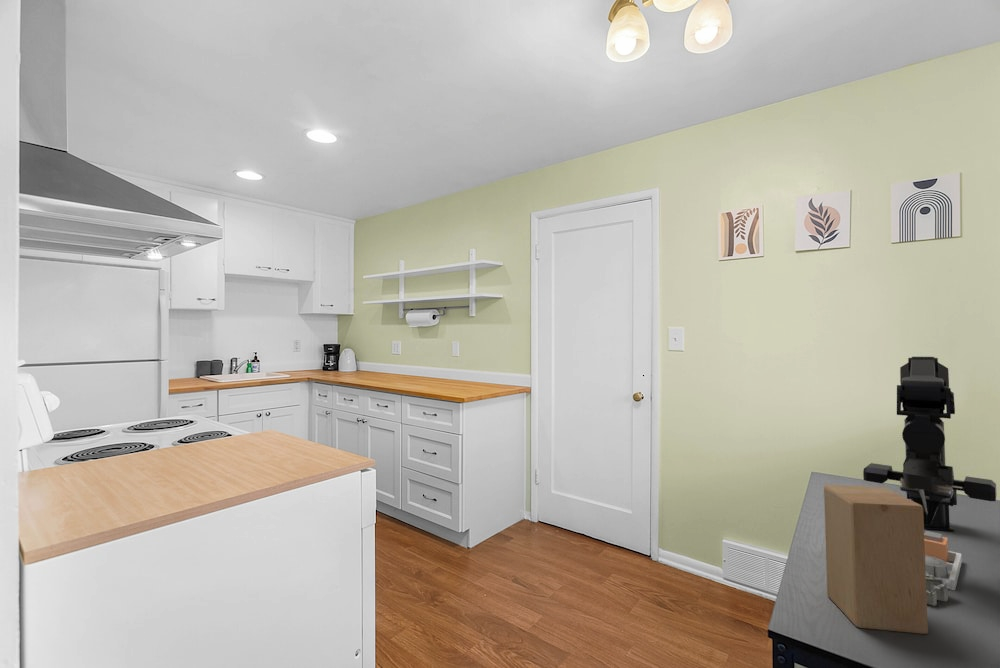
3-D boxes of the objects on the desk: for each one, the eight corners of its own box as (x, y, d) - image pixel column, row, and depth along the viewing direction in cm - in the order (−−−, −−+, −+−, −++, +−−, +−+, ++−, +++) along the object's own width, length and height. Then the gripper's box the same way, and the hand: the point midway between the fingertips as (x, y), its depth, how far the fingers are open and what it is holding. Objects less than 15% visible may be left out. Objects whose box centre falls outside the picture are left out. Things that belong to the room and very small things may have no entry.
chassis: (913, 550, 101) (912, 540, 101) (961, 562, 96) (961, 551, 96) (901, 575, 90) (900, 564, 91) (954, 590, 85) (954, 578, 85)
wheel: (913, 562, 94) (913, 551, 94) (949, 571, 90) (948, 560, 90) (909, 570, 90) (909, 560, 90) (946, 580, 87) (946, 569, 87)
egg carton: (862, 580, 90) (861, 559, 90) (889, 574, 92) (888, 553, 92) (928, 609, 79) (926, 585, 80) (956, 601, 82) (955, 577, 82)
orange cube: (922, 556, 99) (921, 528, 99) (948, 562, 96) (947, 533, 96) (919, 563, 96) (918, 535, 96) (946, 570, 93) (945, 540, 93)
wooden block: (929, 635, 72) (924, 505, 73) (856, 628, 74) (852, 502, 75) (889, 601, 82) (885, 486, 82) (826, 595, 84) (822, 483, 84)
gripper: (855, 443, 92) (858, 522, 92) (992, 459, 78) (996, 553, 78) (867, 435, 100) (870, 509, 99) (994, 449, 86) (998, 534, 85)
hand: (927, 525), depth 90 cm, fingers closed
